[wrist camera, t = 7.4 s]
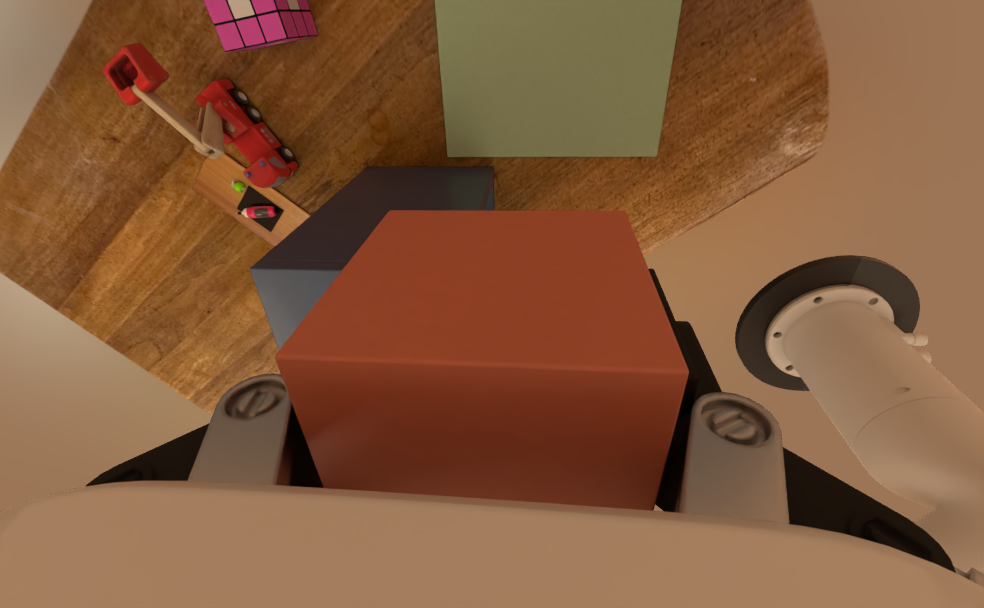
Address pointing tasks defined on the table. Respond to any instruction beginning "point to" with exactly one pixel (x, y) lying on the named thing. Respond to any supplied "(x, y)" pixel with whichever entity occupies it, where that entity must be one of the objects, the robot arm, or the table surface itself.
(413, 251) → the toy block
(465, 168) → the shelf
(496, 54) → the play mat
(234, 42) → the puzzle toy
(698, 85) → the table surface
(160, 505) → the robot arm
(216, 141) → the toy fire truck
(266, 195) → the board
